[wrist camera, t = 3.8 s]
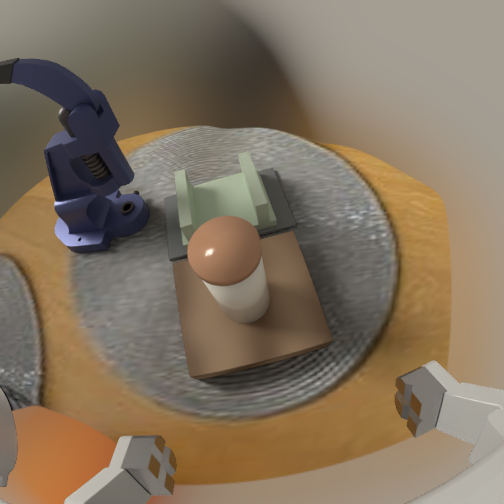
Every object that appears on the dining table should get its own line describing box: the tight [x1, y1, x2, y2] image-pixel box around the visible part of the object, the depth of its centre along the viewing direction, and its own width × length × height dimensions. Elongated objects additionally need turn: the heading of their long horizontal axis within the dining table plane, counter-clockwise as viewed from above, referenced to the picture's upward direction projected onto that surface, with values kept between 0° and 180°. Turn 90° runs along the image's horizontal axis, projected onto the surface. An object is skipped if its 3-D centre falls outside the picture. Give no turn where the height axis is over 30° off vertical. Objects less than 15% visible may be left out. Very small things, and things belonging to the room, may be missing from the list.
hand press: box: [0, 58, 150, 253], centre depth 23 cm, size 19×9×28 cm, turn 90°
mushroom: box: [187, 216, 270, 323], centre depth 21 cm, size 4×4×9 cm
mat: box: [164, 168, 296, 261], centre depth 33 cm, size 14×9×1 cm, turn 104°
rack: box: [175, 152, 277, 250], centre depth 31 cm, size 10×8×4 cm
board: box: [173, 231, 333, 380], centre depth 26 cm, size 12×11×2 cm
